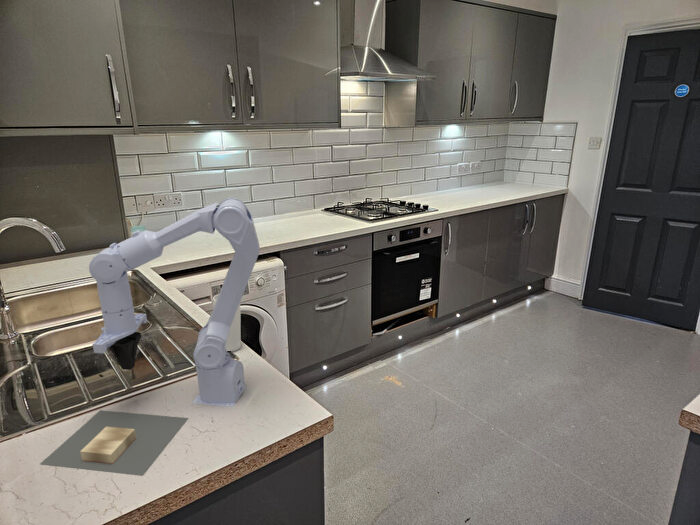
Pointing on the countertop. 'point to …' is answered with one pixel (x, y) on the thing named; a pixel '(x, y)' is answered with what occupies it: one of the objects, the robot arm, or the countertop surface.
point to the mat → (136, 458)
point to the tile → (108, 445)
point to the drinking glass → (233, 330)
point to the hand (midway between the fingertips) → (128, 367)
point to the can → (135, 228)
